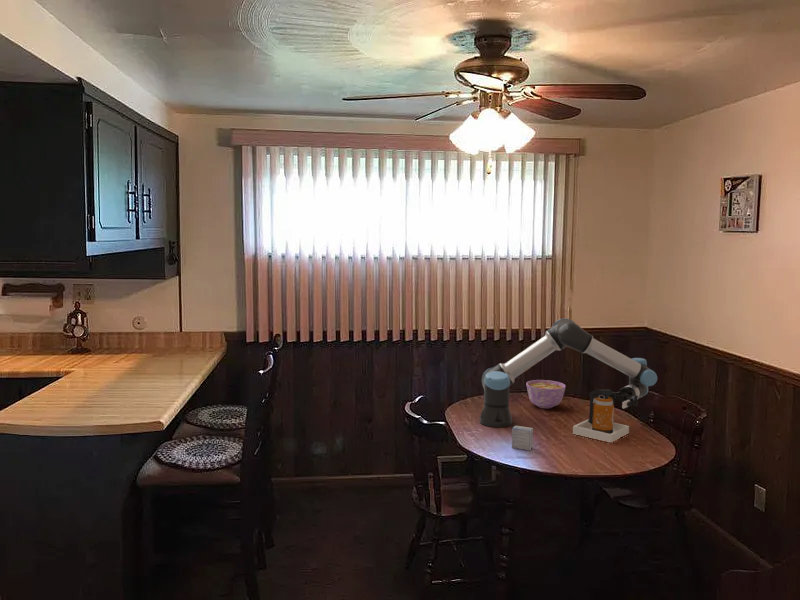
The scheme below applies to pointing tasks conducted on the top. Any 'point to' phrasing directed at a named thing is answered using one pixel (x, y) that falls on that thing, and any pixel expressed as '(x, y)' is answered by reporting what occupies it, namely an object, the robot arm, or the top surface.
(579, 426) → the tray
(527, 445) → the medicine box
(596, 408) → the canister
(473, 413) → the top surface
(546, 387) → the bowl of food
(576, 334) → the robot arm
